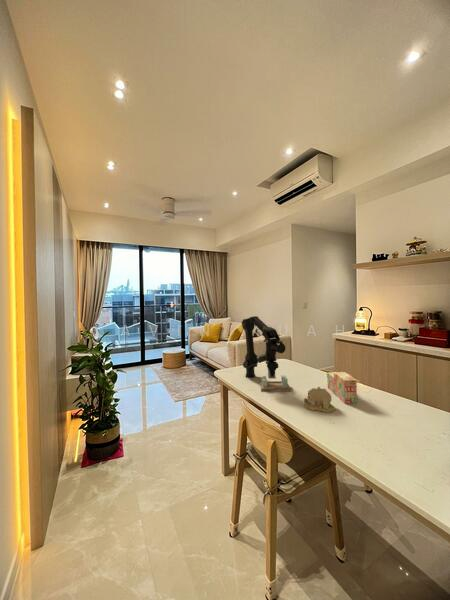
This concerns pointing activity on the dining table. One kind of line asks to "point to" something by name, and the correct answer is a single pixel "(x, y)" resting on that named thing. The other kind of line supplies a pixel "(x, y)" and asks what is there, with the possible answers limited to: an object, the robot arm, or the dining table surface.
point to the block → (270, 374)
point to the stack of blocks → (343, 386)
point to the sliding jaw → (284, 381)
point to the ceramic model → (319, 400)
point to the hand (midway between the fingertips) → (271, 375)
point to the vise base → (272, 385)
